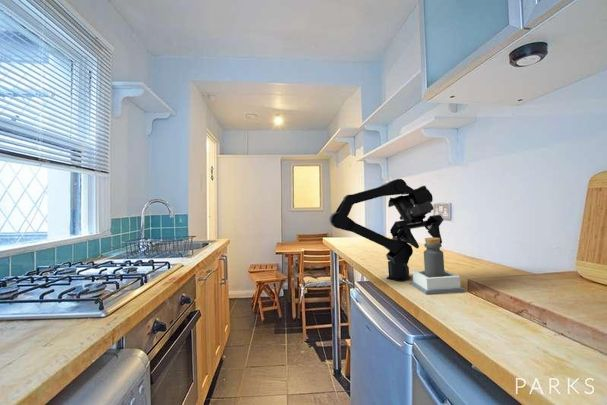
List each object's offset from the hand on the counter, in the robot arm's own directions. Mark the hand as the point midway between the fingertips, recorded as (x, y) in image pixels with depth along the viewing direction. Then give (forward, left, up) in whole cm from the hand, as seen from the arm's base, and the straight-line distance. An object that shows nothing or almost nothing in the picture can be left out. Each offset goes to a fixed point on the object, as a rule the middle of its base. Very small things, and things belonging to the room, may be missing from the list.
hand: (429, 245), depth 95 cm
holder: (+2, -1, -13) cm, 14 cm away
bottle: (+1, -1, -13) cm, 13 cm away
